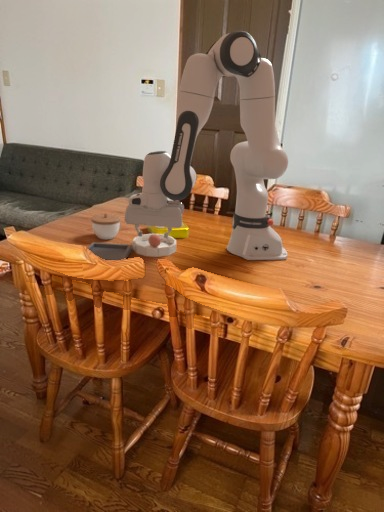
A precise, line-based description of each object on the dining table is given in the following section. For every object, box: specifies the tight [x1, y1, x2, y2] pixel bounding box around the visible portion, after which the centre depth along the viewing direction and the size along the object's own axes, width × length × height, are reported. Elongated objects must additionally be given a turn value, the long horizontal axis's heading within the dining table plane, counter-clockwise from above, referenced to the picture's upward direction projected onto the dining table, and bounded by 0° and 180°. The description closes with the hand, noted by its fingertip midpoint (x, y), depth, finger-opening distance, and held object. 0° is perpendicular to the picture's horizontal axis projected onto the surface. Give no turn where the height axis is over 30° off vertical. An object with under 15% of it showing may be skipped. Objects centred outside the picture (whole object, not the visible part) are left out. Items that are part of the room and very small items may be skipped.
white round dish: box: [132, 233, 177, 258], centre depth 128 cm, size 16×16×3 cm
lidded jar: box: [90, 213, 121, 241], centre depth 135 cm, size 11×11×9 cm
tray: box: [87, 241, 133, 260], centre depth 119 cm, size 14×14×2 cm
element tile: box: [146, 220, 190, 240], centre depth 145 cm, size 15×15×5 cm
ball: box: [149, 234, 161, 247], centre depth 127 cm, size 5×5×5 cm
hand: (153, 237), depth 126 cm, fingers open, 8 cm apart
